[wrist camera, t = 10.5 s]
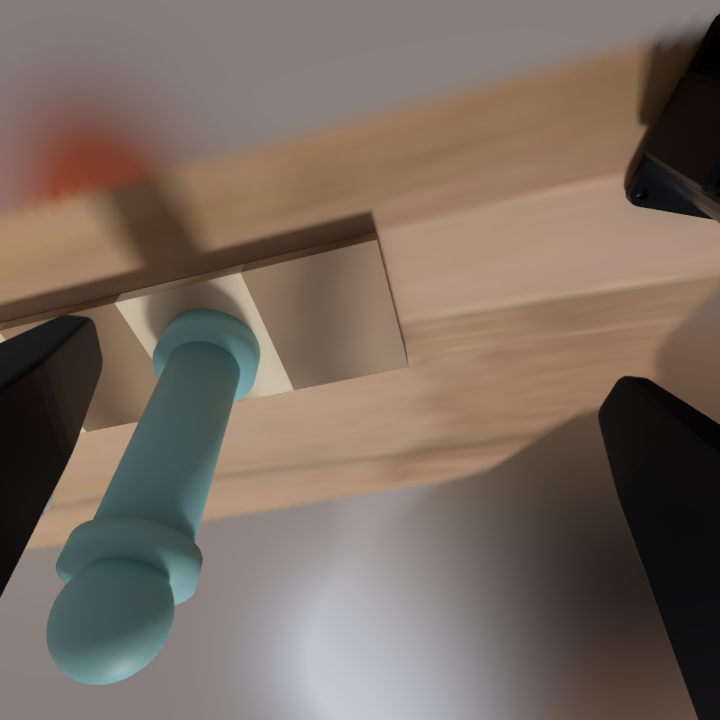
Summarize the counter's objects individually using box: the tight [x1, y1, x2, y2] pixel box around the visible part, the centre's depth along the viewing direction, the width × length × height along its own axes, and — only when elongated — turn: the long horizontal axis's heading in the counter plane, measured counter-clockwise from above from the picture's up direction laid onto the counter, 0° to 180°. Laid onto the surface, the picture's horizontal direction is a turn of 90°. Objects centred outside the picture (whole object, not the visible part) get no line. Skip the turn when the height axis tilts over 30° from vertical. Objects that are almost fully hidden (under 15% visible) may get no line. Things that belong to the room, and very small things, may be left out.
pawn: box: [47, 309, 260, 685], centre depth 18 cm, size 5×5×14 cm
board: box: [0, 232, 409, 433], centre depth 24 cm, size 24×7×1 cm, turn 104°
